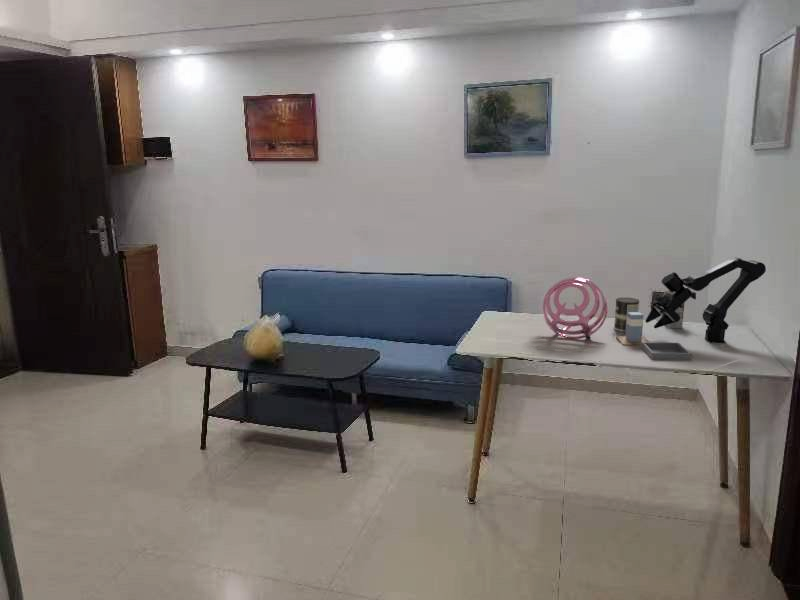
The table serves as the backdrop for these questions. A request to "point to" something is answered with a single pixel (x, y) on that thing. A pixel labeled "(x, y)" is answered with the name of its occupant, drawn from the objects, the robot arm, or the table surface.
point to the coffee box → (679, 311)
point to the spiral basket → (577, 311)
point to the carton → (634, 326)
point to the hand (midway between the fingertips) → (650, 324)
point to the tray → (666, 351)
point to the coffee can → (624, 311)
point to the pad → (625, 342)
